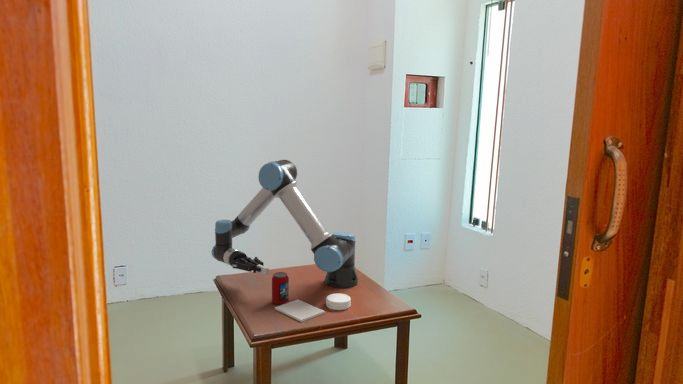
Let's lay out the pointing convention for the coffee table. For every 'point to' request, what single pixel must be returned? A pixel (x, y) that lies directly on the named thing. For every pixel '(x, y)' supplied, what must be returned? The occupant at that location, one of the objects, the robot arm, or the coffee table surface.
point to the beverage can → (280, 288)
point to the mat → (299, 310)
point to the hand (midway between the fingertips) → (267, 271)
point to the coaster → (338, 301)
